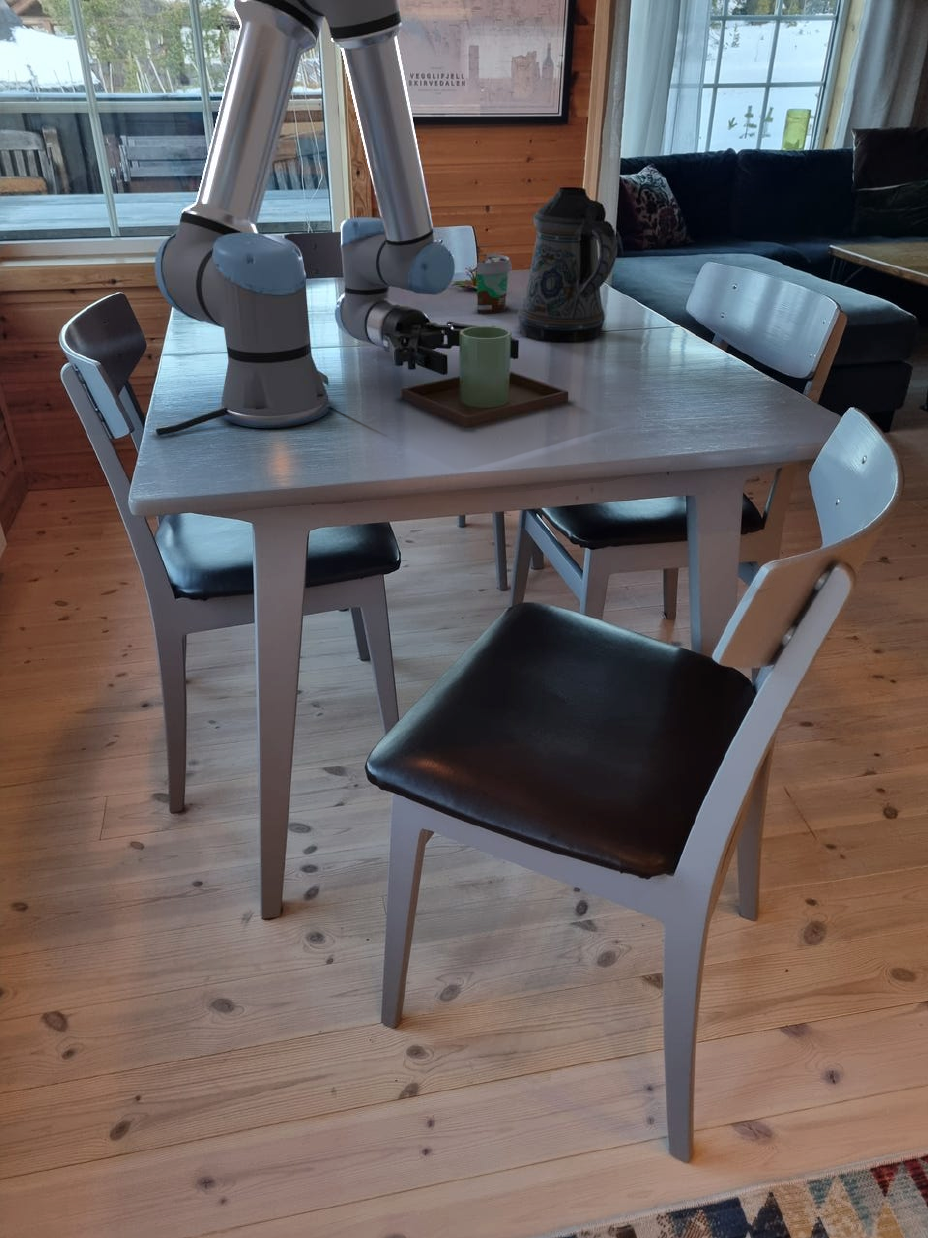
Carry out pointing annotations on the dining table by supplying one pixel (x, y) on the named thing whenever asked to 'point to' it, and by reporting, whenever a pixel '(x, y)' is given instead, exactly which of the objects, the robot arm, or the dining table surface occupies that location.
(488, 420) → the tray
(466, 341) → the cup
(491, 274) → the food container
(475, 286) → the lily flower
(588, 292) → the beer stein
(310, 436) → the dining table surface
